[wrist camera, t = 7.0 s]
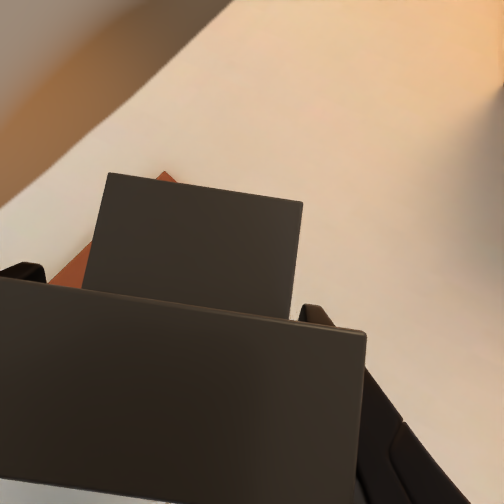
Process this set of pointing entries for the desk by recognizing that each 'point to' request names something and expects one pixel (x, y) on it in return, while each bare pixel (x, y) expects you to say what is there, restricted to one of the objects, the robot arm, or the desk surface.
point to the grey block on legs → (180, 360)
